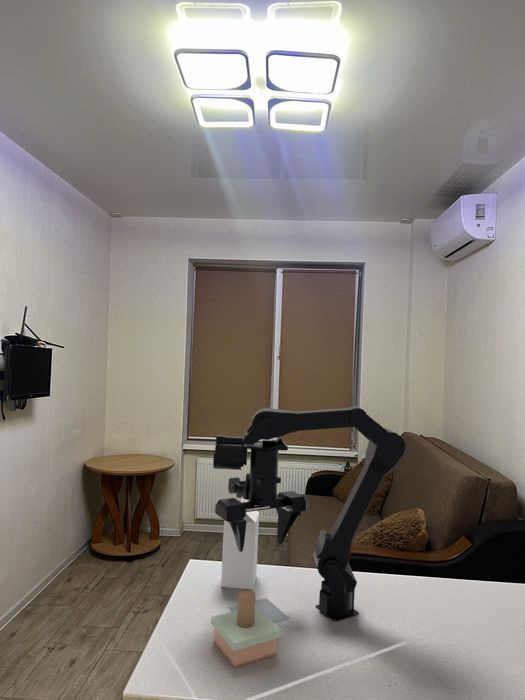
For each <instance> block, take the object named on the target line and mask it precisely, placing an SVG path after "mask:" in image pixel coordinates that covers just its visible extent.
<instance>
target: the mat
mask: <svg viewBox="0 0 525 700" xmlns="http://www.w3.org/2000/svg"><path fill="white" fill-rule="evenodd" d="M255 606H256V607H257V608H258V609H259V610H261V611H262V612H263V613H264V614H265V615H266V616H267V617H268V618H269V619H270V620H271V621H272V622H273V623H274V624H277V623H280V622H283V621H284V622H285V621H288V620H290V619H291V618H290V617H289V616H288V615H287V614H286V613H284V612H283V611H282V610H280V608H278V607H277V606H276V605H275V604H274V603H273V602H272V601H270V599H268V598H267V597H265V598H262V599H261V598H260V599H257V600H256V599H255ZM227 607H228V606H227ZM228 609H229V610H230V612H233V611H236V610H238V604H236V605H233V606H229V607H228Z"/></svg>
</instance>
